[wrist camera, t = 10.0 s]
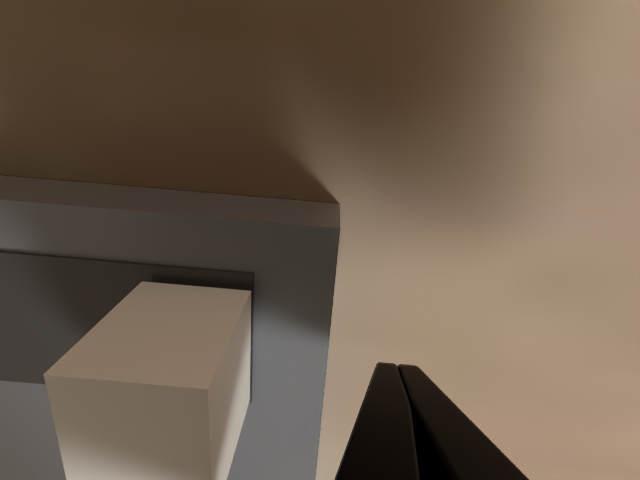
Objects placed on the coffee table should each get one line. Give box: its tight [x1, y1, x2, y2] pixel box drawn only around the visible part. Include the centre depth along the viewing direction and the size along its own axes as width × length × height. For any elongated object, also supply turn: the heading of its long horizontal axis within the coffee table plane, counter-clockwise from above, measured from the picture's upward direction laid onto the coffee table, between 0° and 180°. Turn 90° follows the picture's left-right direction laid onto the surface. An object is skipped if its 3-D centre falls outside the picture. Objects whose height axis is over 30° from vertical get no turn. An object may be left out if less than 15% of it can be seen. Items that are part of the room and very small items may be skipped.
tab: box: [43, 281, 251, 480], centre depth 7 cm, size 3×2×3 cm
